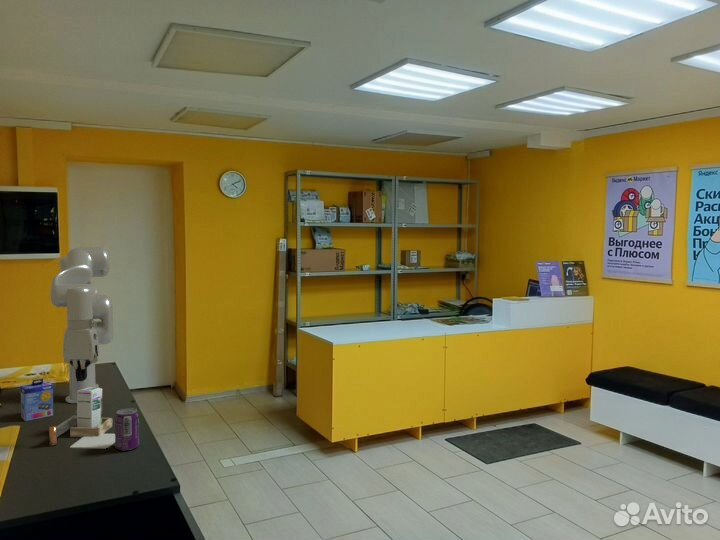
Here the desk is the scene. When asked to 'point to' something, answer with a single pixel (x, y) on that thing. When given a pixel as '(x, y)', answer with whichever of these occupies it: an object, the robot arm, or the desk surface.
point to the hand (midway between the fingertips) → (81, 380)
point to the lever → (62, 428)
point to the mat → (95, 441)
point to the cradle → (92, 429)
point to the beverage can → (126, 429)
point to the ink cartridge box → (36, 400)
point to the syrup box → (89, 407)
